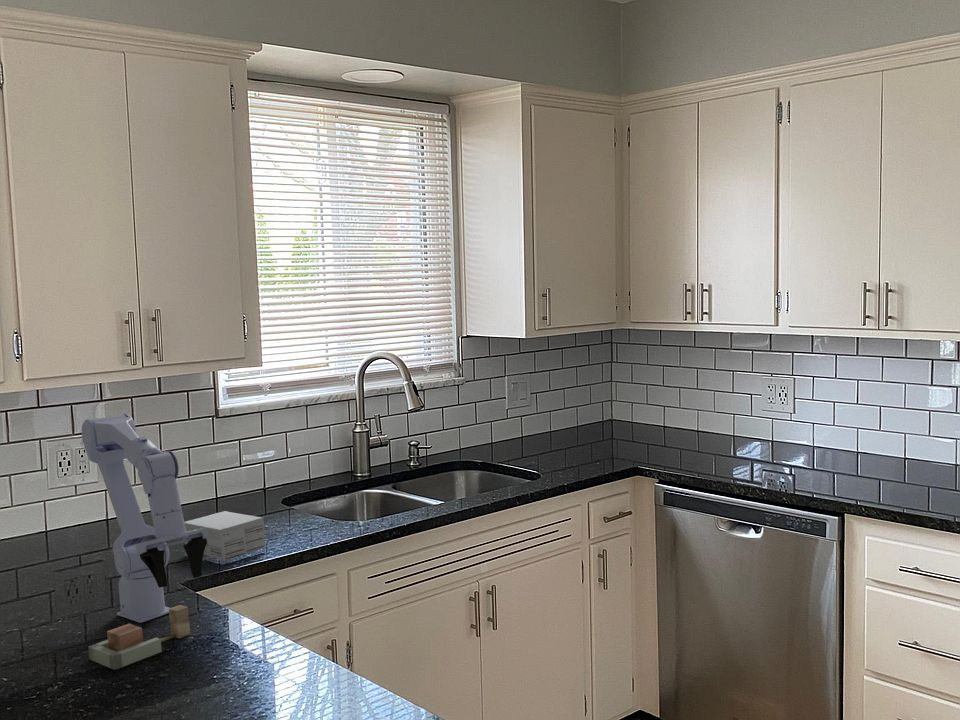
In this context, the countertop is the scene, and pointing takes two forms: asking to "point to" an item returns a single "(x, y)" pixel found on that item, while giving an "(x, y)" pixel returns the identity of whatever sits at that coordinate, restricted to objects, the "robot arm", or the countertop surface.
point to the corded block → (133, 634)
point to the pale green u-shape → (123, 653)
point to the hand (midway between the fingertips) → (180, 581)
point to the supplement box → (230, 534)
